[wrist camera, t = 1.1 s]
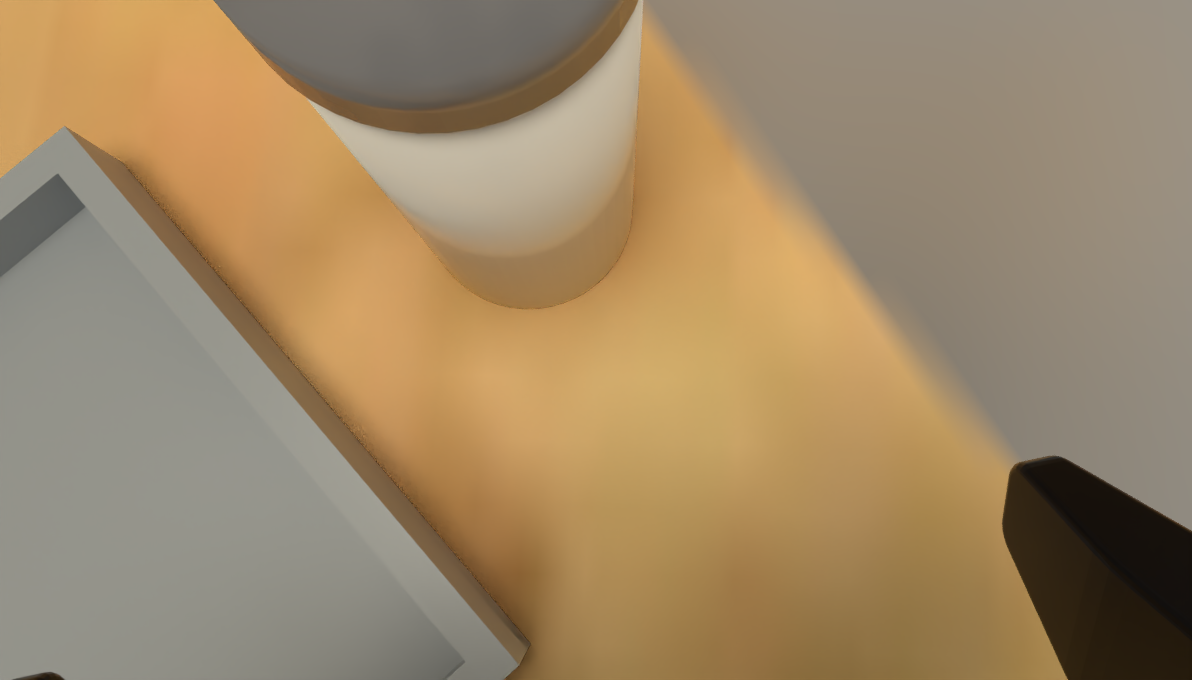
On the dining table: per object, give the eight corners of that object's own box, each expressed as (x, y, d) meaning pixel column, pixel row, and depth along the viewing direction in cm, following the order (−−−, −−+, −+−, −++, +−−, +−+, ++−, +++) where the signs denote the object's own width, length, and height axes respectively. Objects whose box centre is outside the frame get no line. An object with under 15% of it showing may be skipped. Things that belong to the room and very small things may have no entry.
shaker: (680, 215, 23) (765, -146, 10) (519, 357, 23) (377, 183, 9) (539, 66, 24) (437, -462, 10) (380, 201, 23) (62, -169, 10)
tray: (530, 643, 22) (518, 664, 19) (-12, 1141, 20) (-98, 1233, 18) (122, 162, 24) (64, 126, 21) (-394, 587, 22) (-520, 600, 20)
